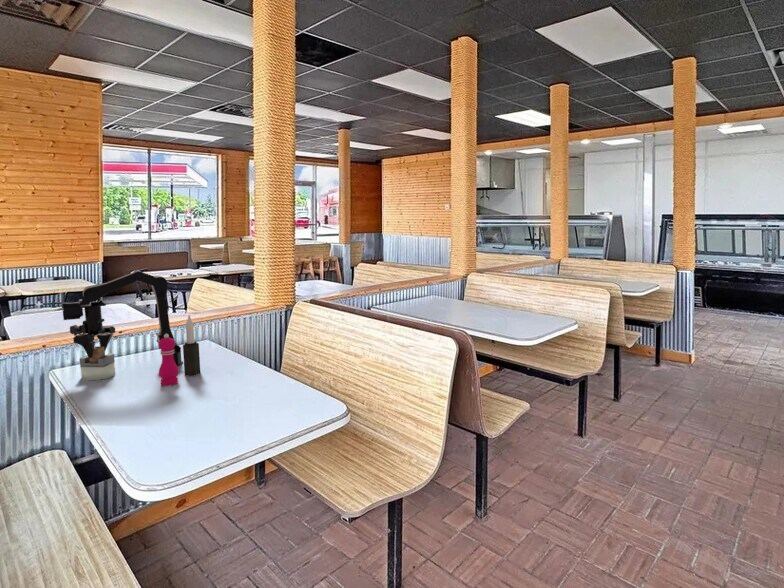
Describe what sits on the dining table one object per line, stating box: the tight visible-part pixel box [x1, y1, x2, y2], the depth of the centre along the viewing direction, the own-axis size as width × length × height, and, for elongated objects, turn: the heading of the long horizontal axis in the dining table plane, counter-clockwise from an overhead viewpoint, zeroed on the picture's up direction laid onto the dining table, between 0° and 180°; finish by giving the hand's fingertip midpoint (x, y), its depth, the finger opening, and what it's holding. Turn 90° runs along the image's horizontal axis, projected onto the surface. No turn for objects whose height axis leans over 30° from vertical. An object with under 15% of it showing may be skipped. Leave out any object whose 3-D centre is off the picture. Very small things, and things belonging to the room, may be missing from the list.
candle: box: [182, 315, 201, 377], centre depth 208 cm, size 5×5×25 cm
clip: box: [79, 353, 116, 368], centre depth 205 cm, size 10×8×4 cm
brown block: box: [89, 345, 106, 363], centre depth 205 cm, size 4×4×7 cm
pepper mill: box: [157, 334, 180, 386], centre depth 197 cm, size 7×7×20 cm
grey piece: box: [80, 362, 116, 381], centre depth 206 cm, size 12×12×5 cm
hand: (97, 354), depth 205 cm, fingers open, 8 cm apart
